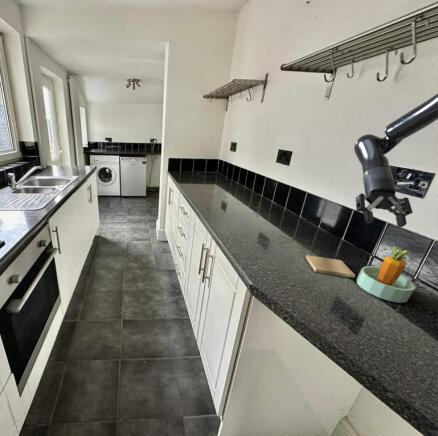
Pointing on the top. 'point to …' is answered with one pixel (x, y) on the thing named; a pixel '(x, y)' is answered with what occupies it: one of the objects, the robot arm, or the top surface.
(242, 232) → the top surface
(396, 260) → the carrot
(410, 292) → the bowl
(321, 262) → the cutting board
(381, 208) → the robot arm
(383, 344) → the top surface
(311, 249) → the top surface
